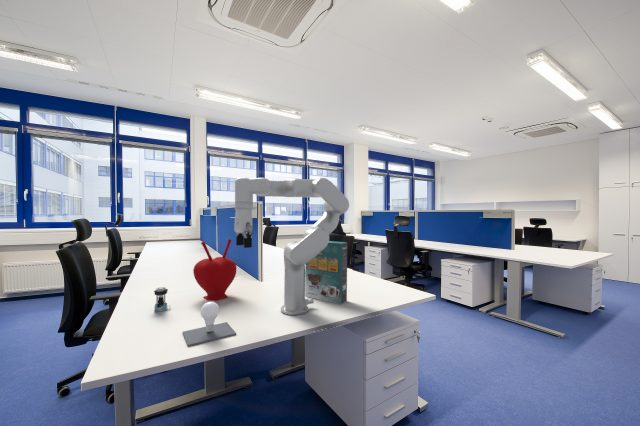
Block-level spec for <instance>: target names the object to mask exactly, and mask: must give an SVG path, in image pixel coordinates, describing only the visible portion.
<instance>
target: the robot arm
mask: <svg viewBox="0 0 640 426" xmlns="http://www.w3.org/2000/svg"><path fill="white" fill-rule="evenodd" d="M234 180H235V181H234V211H235V213H234V226H233V227H234V229H233V230H234V232H235V233H236V234H235V236H236V237H235V239H236V241H235V242H236V243H235V245H236V246H243V248H245V249H249V248H250V249H251V248H252V247H253V241H252V240H253V229H254V228H253V212H252V211H254V195H255V196H258V197H277V198H278V197H282V198H285V197H286V198H321V199H323V201H324V204H323V207H324V208H323V210H324V212H323V215H321V217H320V218H319V219H318V220H317V221H316V222H315V223H314V224H312V225H311V226H310V227H309V228H307V229H306V230H305V231H304V233H303V234H302V239H301V240H300V241H297V240H296V241H295V240H294V241H290V242H288V243H287V244H286V245H285V246H284V249H283V262H284V263H283V264H284V277H283V278H284V279H283V280H284V288H283V289H284V291H283V292H284V293H283V294H284V295H283V299H284V301H283V305H281V306H280V312H281V313H283V314H284V315H289V316H297V315H302V314H303V315H304V314H305V313H308V311H309V307H308V306H309V305H312V304H314V303H315V301H314V298H310V299H309V298H306V297H305V272H306V264H307V263H308V262H310V261H311V260H312V259H313V258H314V257H316V256H317V255H318V254H319V253H320V252H321V251H322V250H323V249H324V248H325V247H326V246H327V245H328V242H329V241H330V235H331V233H333V231H335V229H337V226H338V224H339V220H340V215H342V214H345V213H347V211H348V210H349V208H350V201H349V199H348V198H347V196H346V195H345V194H344V193H343V192H342V191H341V190H339V188H338V187H337V186H336V185H335V184H334V183H332V181H330V180H329V179H328V178H325V177H320V178H317V179H310V178H309V179H307V178H287V179H283V180H269V179H268V178H266V177H255V178H253V177H252V178H251V177H237V178H236V179H234Z"/></svg>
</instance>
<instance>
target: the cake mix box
mask: <svg viewBox="0 0 640 426" xmlns="http://www.w3.org/2000/svg"><path fill="white" fill-rule="evenodd" d="M306 297H307V298H310V299H313V300H314V299H315V300H319V301H325V302H328V303H334V304H338V305H343V304H344V303H346V302H347V301H348V242H345V241H334V240H332V241H331V240H329V242H328V245H327V246H326V247H325V248H324V249H323V250H322V251H321V252H320V253H319V254H318V255H317V256H316V257H314V258H313V259H312V260H311V261H310V262H308V263H307V264H305V298H306Z"/></svg>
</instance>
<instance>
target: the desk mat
mask: <svg viewBox="0 0 640 426" xmlns="http://www.w3.org/2000/svg"><path fill="white" fill-rule="evenodd" d="M213 329H214V330H213V331H211V332H207V331H206V326H202V327H198V328H197V327H196V328H191V329H188V330H185V331H182V335H183V338H184V340H185V343H186V345H187V348H188V347H192V346H197V345H200V344H205V343H208V342H213V341H216V340H220V339H225V338H229V337H232V336H236V335H237V332H235V330H234V329H233V328H232V326H231V325H230V324H229V323H228V321H226V322H225V321H224V322H220V323H217V324H215V323H214V327H213Z"/></svg>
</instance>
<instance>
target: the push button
mask: <svg viewBox="0 0 640 426" xmlns="http://www.w3.org/2000/svg"><path fill="white" fill-rule="evenodd" d="M168 291H169V289H168V288H166V287H164V286H162V287H161V286H160V287H157V288H155V290H153V293H154V296H156V297H155V298H156V300H155V301H156V302H155V304H154V309H153V311H154V312H163V311H167V310H168V309H171V305H168V303H167V302H166V294H168Z"/></svg>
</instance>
